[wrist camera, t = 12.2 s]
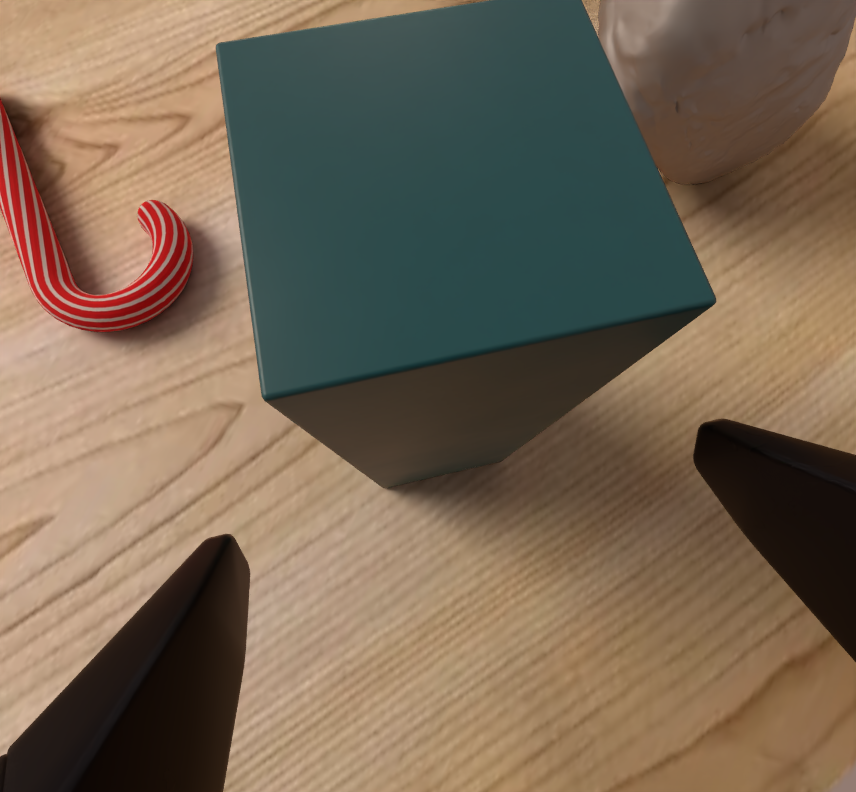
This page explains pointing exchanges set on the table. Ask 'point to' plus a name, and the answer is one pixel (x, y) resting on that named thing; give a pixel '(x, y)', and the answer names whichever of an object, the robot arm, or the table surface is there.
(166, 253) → the candy cane
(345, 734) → the table surface
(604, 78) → the block
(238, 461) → the table surface
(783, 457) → the robot arm
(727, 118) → the heart
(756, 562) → the table surface
